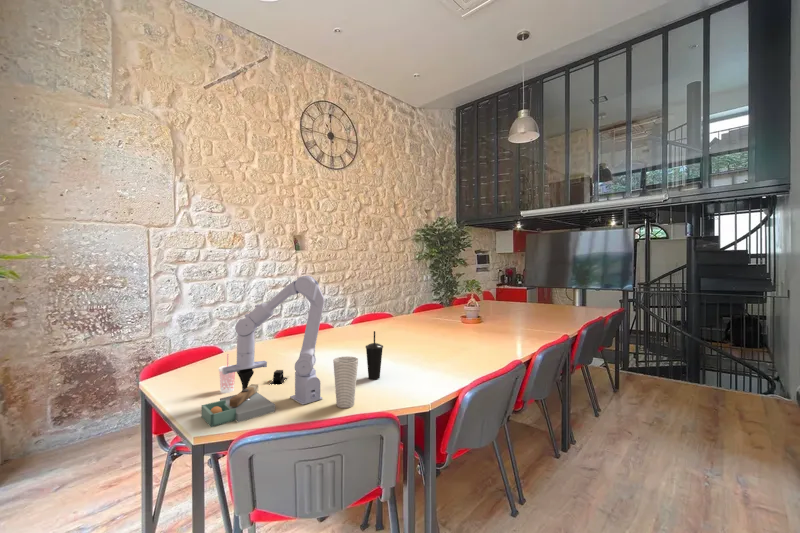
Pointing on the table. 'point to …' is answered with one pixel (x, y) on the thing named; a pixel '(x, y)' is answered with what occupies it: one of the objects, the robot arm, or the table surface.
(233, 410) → the teal dish
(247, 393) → the lever
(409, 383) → the table surface
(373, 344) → the drinking cup
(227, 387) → the beverage cup
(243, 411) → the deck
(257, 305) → the robot arm
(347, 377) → the cup
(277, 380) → the black blocky device
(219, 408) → the ball
